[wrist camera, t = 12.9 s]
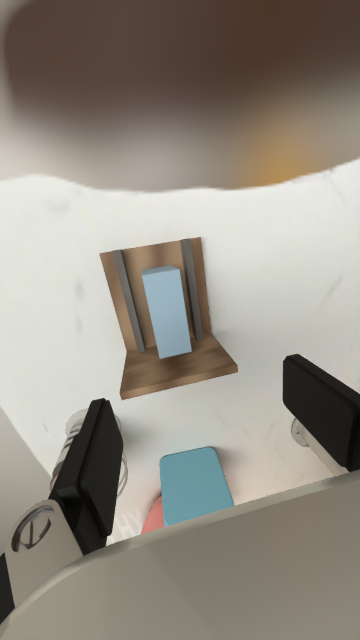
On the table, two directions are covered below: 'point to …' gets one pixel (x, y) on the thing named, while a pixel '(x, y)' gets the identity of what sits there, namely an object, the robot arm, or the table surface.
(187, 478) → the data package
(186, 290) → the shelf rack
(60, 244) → the table surface
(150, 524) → the cell model
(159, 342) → the light blue rectangular block
